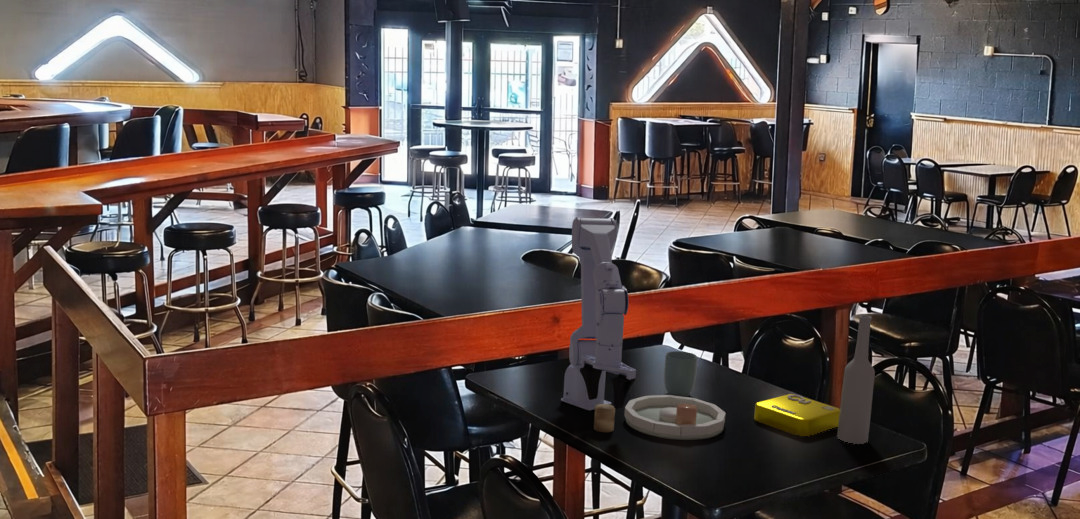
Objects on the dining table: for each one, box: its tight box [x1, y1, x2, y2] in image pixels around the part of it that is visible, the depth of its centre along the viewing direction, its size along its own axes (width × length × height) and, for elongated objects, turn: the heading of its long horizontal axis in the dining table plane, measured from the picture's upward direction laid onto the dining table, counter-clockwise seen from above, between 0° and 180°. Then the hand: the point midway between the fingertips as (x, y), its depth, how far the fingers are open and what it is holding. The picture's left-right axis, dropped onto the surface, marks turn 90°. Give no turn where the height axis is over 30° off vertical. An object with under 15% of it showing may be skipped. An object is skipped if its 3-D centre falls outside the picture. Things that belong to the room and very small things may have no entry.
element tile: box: [753, 393, 840, 437], centre depth 241 cm, size 15×15×5 cm
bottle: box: [836, 314, 876, 445], centre depth 229 cm, size 7×7×28 cm
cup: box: [663, 350, 698, 397], centre depth 257 cm, size 8×8×10 cm
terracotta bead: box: [676, 403, 697, 425], centre depth 230 cm, size 4×4×5 cm
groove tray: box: [623, 394, 726, 441], centre depth 236 cm, size 22×22×3 cm
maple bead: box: [593, 404, 616, 433], centre depth 230 cm, size 4×4×5 cm
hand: (605, 403), depth 229 cm, fingers open, 7 cm apart
